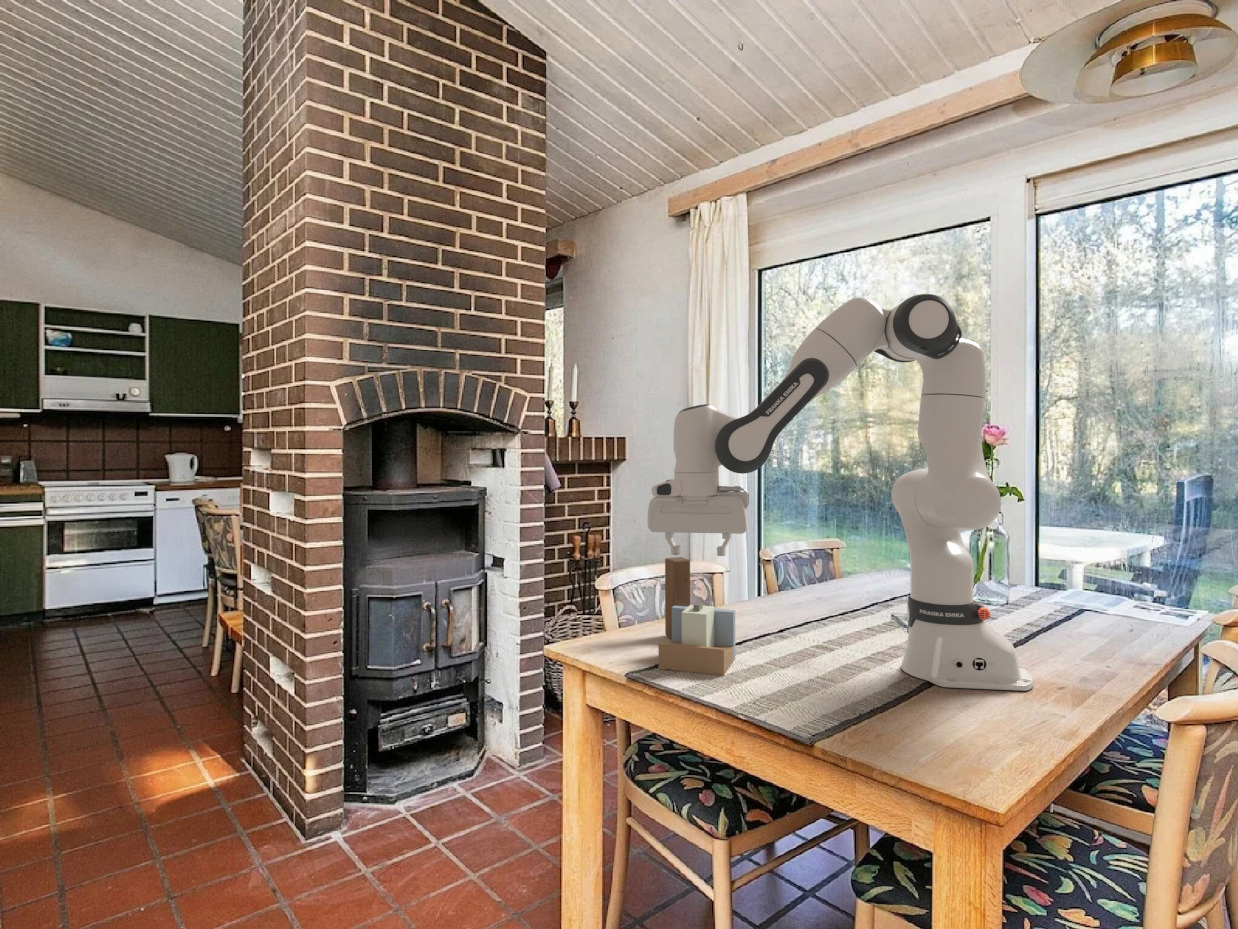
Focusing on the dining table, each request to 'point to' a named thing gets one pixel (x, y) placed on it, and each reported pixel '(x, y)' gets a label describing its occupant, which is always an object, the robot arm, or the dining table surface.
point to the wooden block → (676, 588)
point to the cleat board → (700, 656)
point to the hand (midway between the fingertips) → (698, 555)
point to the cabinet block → (698, 625)
